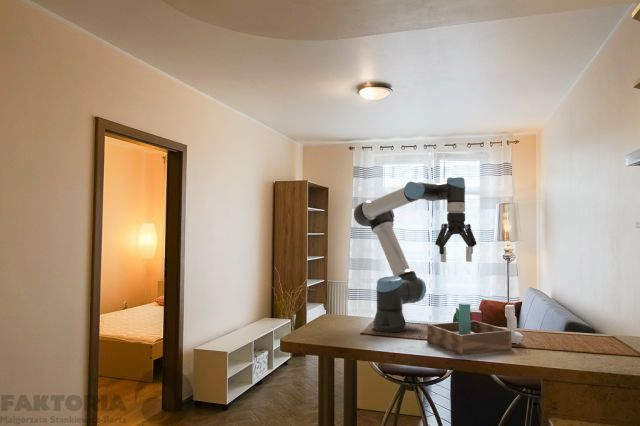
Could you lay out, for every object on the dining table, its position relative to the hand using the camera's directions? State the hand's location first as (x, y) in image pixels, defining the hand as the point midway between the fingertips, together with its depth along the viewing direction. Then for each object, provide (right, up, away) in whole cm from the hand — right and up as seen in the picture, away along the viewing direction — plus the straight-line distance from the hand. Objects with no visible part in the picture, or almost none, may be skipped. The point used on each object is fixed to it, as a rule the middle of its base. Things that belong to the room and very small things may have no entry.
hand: (456, 261), depth 184 cm
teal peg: (-1, -30, -15) cm, 34 cm away
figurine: (+19, -32, -11) cm, 38 cm away
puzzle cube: (+8, -32, +6) cm, 34 cm away
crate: (-1, -31, -17) cm, 35 cm away
